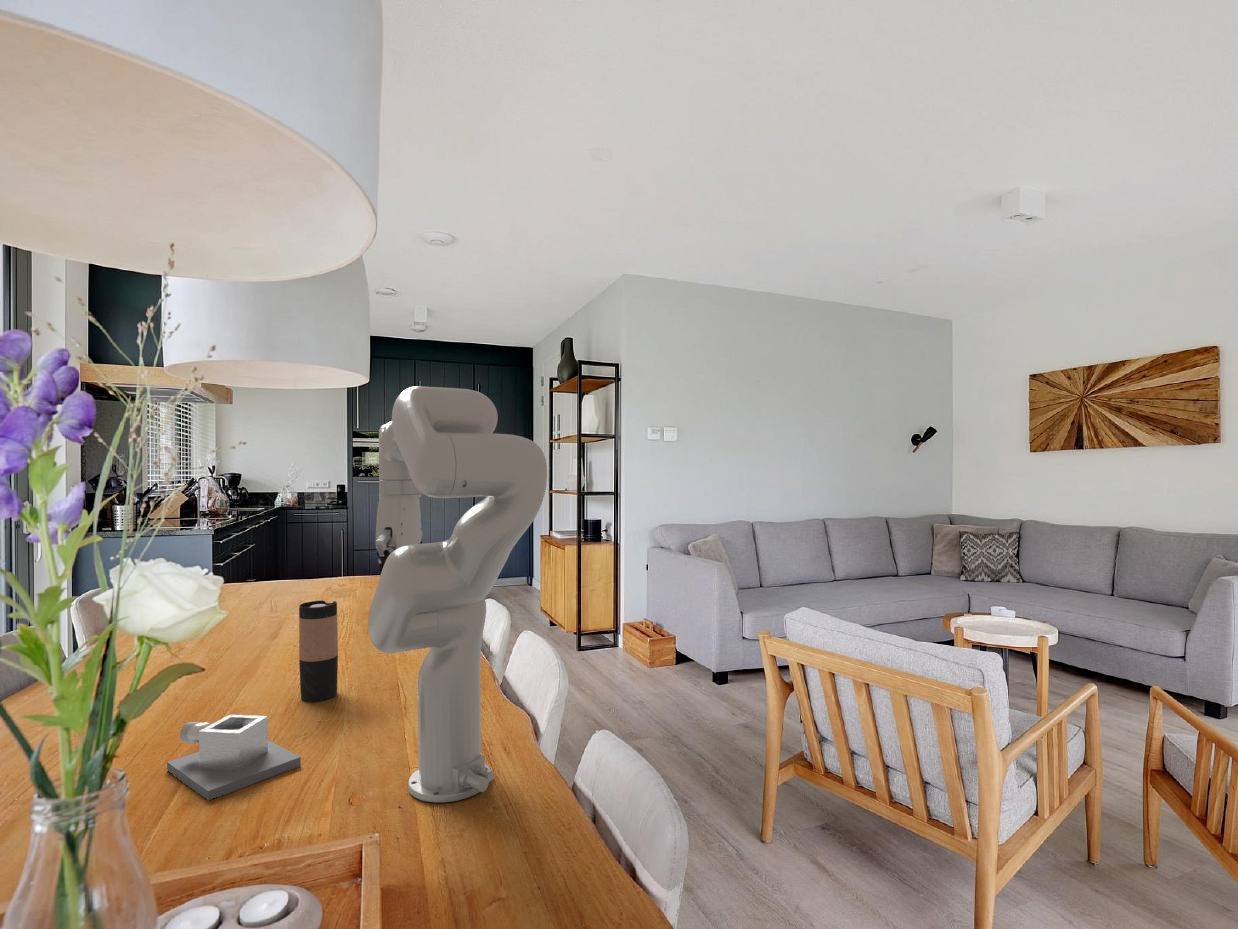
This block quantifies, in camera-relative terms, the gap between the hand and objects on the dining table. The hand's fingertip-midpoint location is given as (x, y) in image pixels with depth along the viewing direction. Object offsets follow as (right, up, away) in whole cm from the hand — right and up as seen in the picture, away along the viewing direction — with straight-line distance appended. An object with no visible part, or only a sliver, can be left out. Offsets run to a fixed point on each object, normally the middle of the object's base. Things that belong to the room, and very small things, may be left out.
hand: (401, 580), depth 124 cm
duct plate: (-23, -29, -15) cm, 39 cm away
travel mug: (-24, -29, +18) cm, 41 cm away
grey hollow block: (-25, -27, -15) cm, 40 cm away
